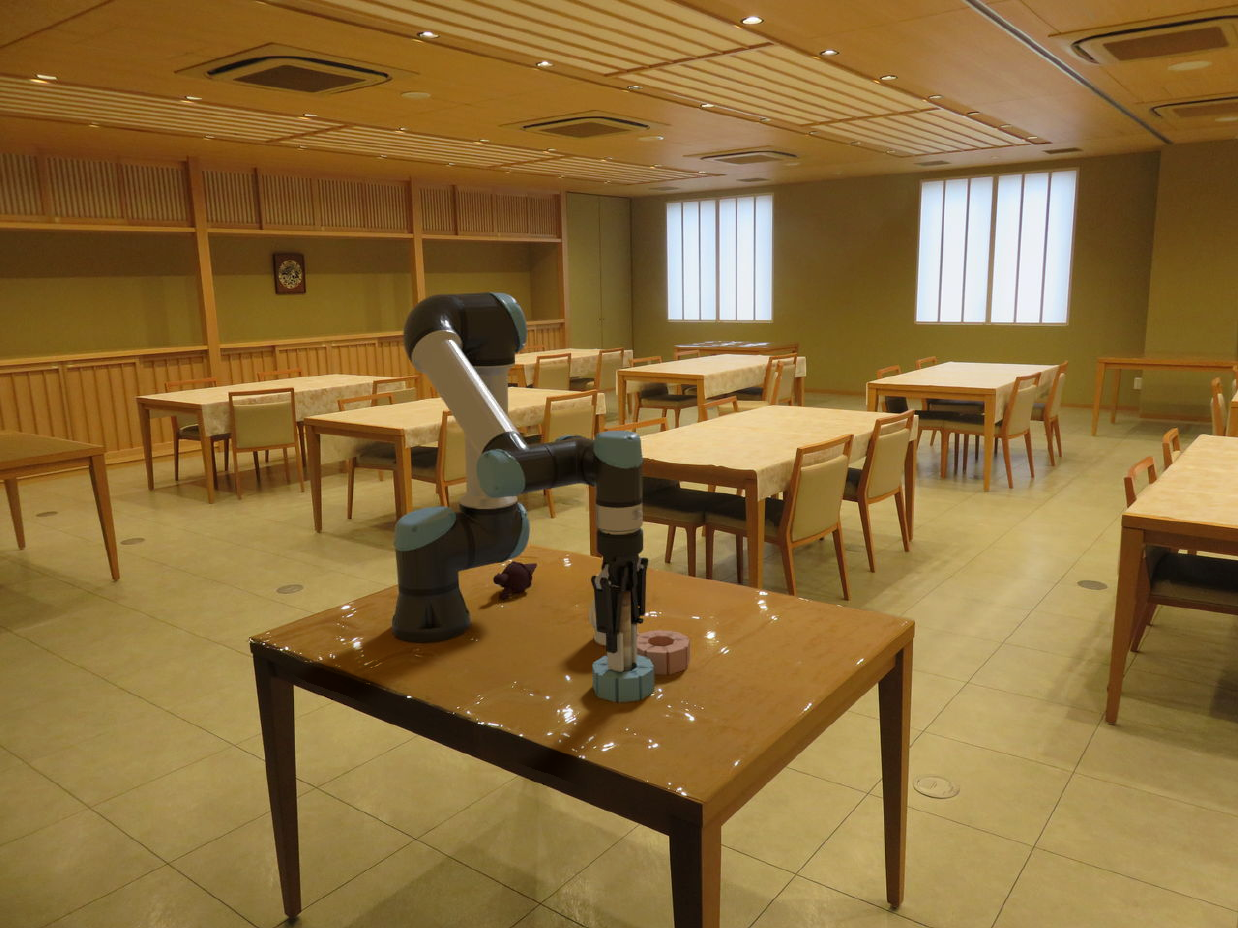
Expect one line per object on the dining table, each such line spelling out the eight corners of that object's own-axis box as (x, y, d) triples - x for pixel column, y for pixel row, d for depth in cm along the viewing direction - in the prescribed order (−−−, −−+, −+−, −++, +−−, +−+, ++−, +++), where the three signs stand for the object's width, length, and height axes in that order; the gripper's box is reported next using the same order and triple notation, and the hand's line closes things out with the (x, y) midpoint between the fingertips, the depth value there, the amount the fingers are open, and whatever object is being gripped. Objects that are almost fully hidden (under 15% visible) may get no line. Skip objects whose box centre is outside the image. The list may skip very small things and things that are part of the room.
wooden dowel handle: (610, 684, 150) (608, 592, 147) (620, 677, 152) (618, 587, 149) (625, 688, 148) (623, 596, 145) (635, 682, 151) (634, 590, 147)
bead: (582, 692, 149) (581, 669, 149) (615, 670, 157) (615, 649, 156) (631, 707, 144) (631, 683, 143) (663, 683, 152) (663, 661, 151)
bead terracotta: (628, 672, 157) (628, 650, 156) (639, 649, 166) (638, 628, 165) (684, 676, 155) (684, 654, 154) (692, 652, 164) (692, 632, 163)
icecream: (519, 551, 205) (479, 576, 193) (544, 547, 201) (505, 573, 189) (528, 579, 206) (489, 606, 194) (553, 576, 202) (515, 603, 190)
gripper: (609, 544, 136) (612, 688, 141) (666, 519, 149) (667, 652, 154) (570, 537, 140) (574, 677, 145) (628, 513, 154) (631, 643, 158)
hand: (622, 664), depth 150 cm, fingers open, 3 cm apart
